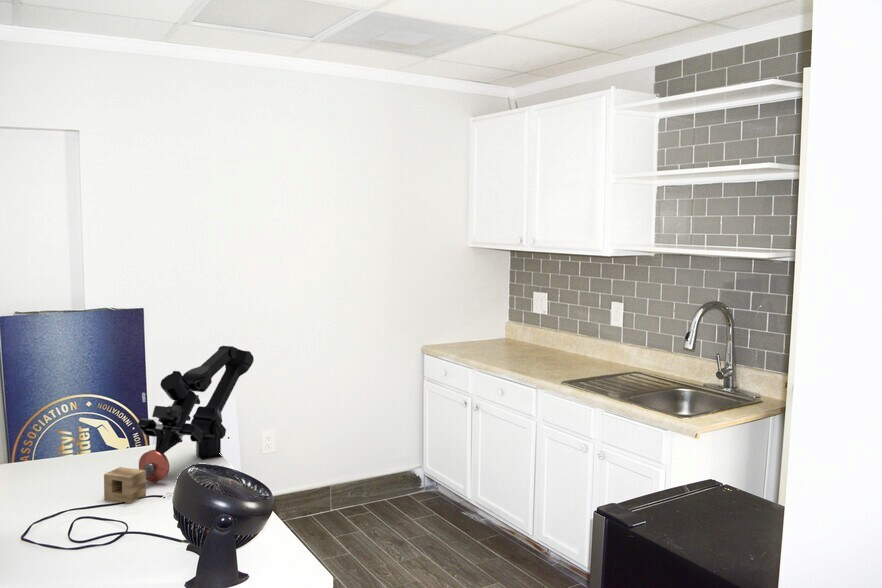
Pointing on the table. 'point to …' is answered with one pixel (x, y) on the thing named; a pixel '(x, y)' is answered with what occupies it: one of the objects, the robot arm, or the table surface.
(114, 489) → the tan block
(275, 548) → the table surface
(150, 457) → the copper disc handle
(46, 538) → the table surface
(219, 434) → the robot arm
